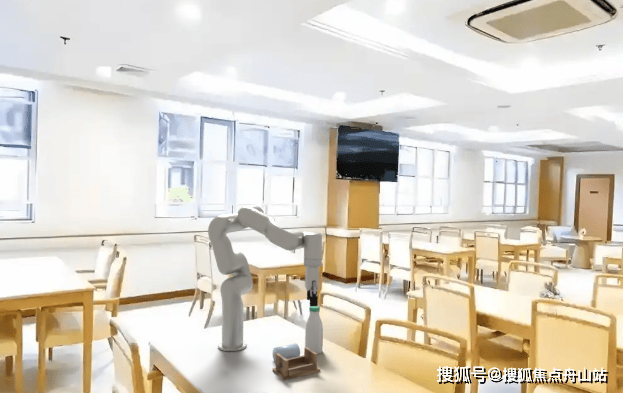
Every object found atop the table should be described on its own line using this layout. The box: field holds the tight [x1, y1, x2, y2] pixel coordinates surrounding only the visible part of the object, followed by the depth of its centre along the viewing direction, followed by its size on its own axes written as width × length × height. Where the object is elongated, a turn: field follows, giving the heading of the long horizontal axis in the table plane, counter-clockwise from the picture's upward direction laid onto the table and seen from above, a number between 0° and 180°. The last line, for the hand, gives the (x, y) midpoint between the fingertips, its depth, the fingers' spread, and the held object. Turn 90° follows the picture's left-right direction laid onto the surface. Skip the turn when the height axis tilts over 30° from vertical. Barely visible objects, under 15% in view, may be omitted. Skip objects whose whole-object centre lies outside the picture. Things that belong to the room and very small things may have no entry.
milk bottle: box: [304, 305, 324, 355], centre depth 193 cm, size 8×8×20 cm
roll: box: [272, 343, 301, 363], centre depth 183 cm, size 10×6×6 cm, turn 122°
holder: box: [272, 346, 321, 381], centre depth 172 cm, size 10×16×7 cm, turn 122°
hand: (312, 302), depth 182 cm, fingers open, 9 cm apart
